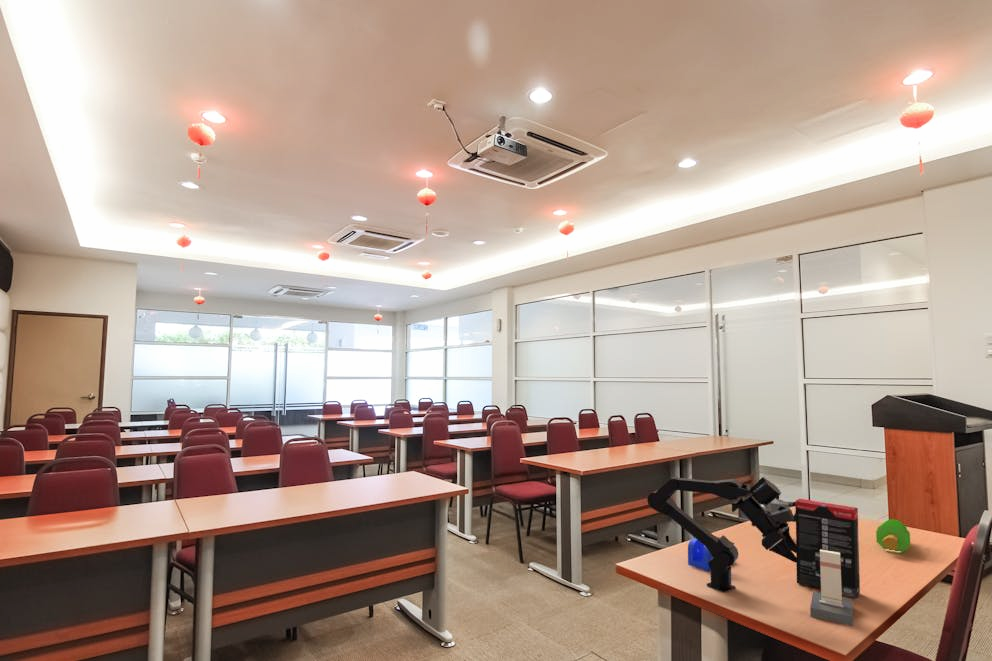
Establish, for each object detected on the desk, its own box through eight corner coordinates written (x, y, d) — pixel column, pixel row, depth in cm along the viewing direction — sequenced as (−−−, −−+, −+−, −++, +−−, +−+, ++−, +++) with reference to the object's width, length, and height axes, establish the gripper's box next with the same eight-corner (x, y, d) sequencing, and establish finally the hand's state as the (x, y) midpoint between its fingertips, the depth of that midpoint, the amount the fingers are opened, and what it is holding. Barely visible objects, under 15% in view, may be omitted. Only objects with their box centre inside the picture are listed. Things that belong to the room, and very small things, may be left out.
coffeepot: (762, 539, 224) (761, 495, 225) (759, 533, 232) (758, 491, 234) (804, 543, 218) (802, 499, 220) (799, 537, 227) (798, 494, 229)
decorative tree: (880, 522, 207) (886, 506, 230) (868, 547, 209) (875, 529, 232) (915, 539, 200) (917, 520, 223) (902, 565, 202) (906, 544, 225)
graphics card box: (861, 593, 168) (858, 505, 170) (858, 600, 163) (855, 509, 165) (801, 579, 179) (798, 496, 181) (796, 585, 174) (793, 500, 176)
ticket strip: (821, 609, 154) (819, 551, 156) (821, 606, 156) (819, 549, 158) (842, 614, 152) (840, 554, 153) (842, 611, 153) (840, 552, 155)
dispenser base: (810, 616, 151) (810, 604, 151) (813, 599, 162) (813, 588, 163) (852, 626, 145) (852, 613, 145) (852, 608, 157) (852, 596, 157)
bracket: (708, 572, 185) (707, 545, 185) (688, 564, 192) (687, 539, 192) (738, 562, 195) (737, 537, 195) (717, 556, 201) (717, 531, 202)
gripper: (772, 503, 156) (817, 549, 149) (779, 492, 172) (820, 533, 165) (744, 527, 160) (787, 572, 153) (753, 514, 175) (792, 555, 168)
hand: (798, 557), depth 160 cm, fingers open, 9 cm apart
